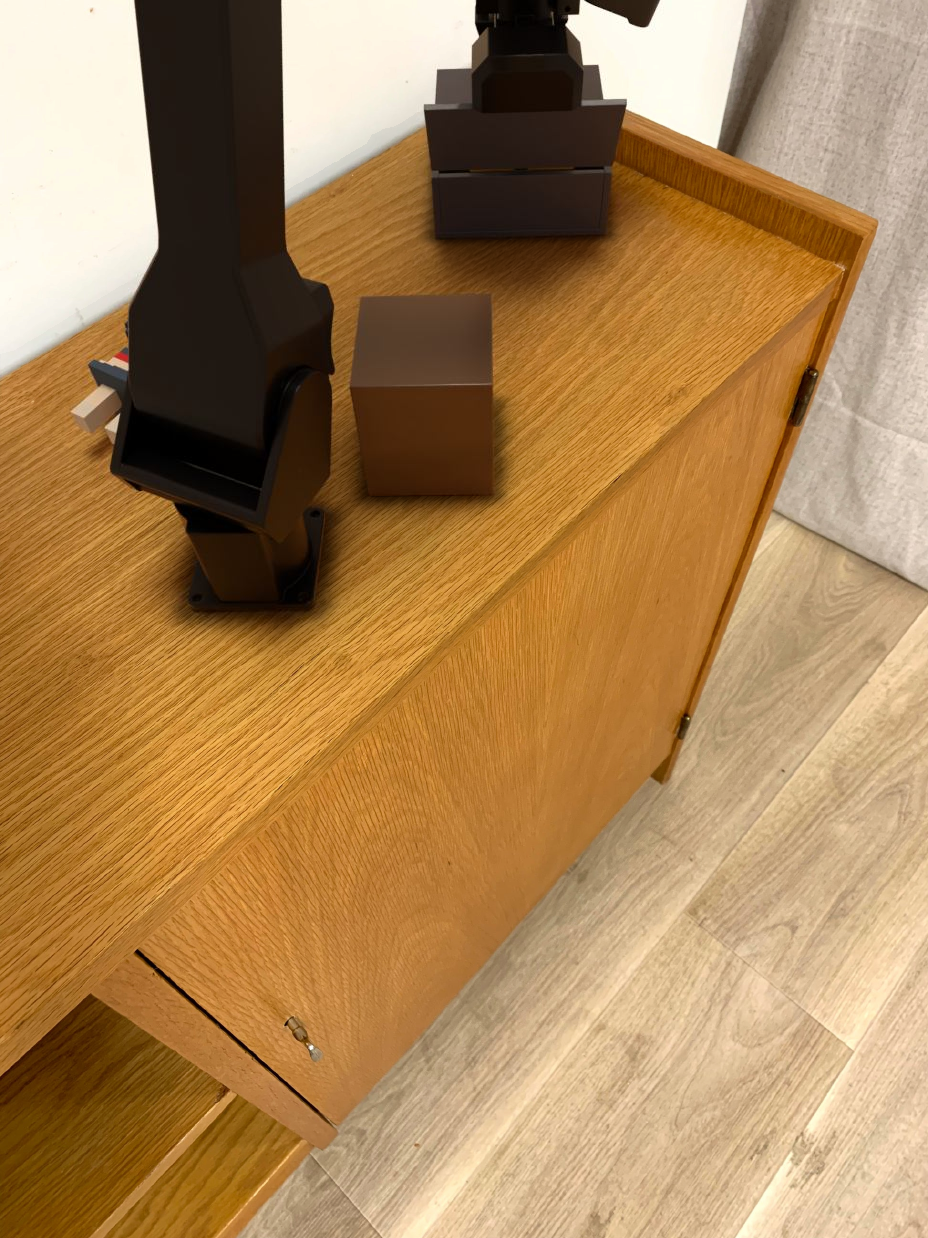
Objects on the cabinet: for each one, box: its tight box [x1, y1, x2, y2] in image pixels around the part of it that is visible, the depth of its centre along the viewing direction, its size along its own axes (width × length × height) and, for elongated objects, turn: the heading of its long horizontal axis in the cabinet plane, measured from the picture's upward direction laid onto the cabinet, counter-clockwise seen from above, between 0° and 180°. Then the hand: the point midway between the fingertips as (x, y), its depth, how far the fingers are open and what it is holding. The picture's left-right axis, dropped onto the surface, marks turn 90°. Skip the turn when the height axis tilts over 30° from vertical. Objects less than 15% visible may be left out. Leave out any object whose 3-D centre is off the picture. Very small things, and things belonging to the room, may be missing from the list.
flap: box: [423, 98, 628, 172], centre depth 55 cm, size 6×12×1 cm
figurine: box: [70, 317, 128, 445], centre depth 54 cm, size 9×4×15 cm
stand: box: [348, 293, 495, 497], centre depth 48 cm, size 7×7×8 cm
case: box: [430, 64, 613, 239], centre depth 64 cm, size 13×12×5 cm
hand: (520, 151), depth 61 cm, fingers closed on duster, 4 cm apart
